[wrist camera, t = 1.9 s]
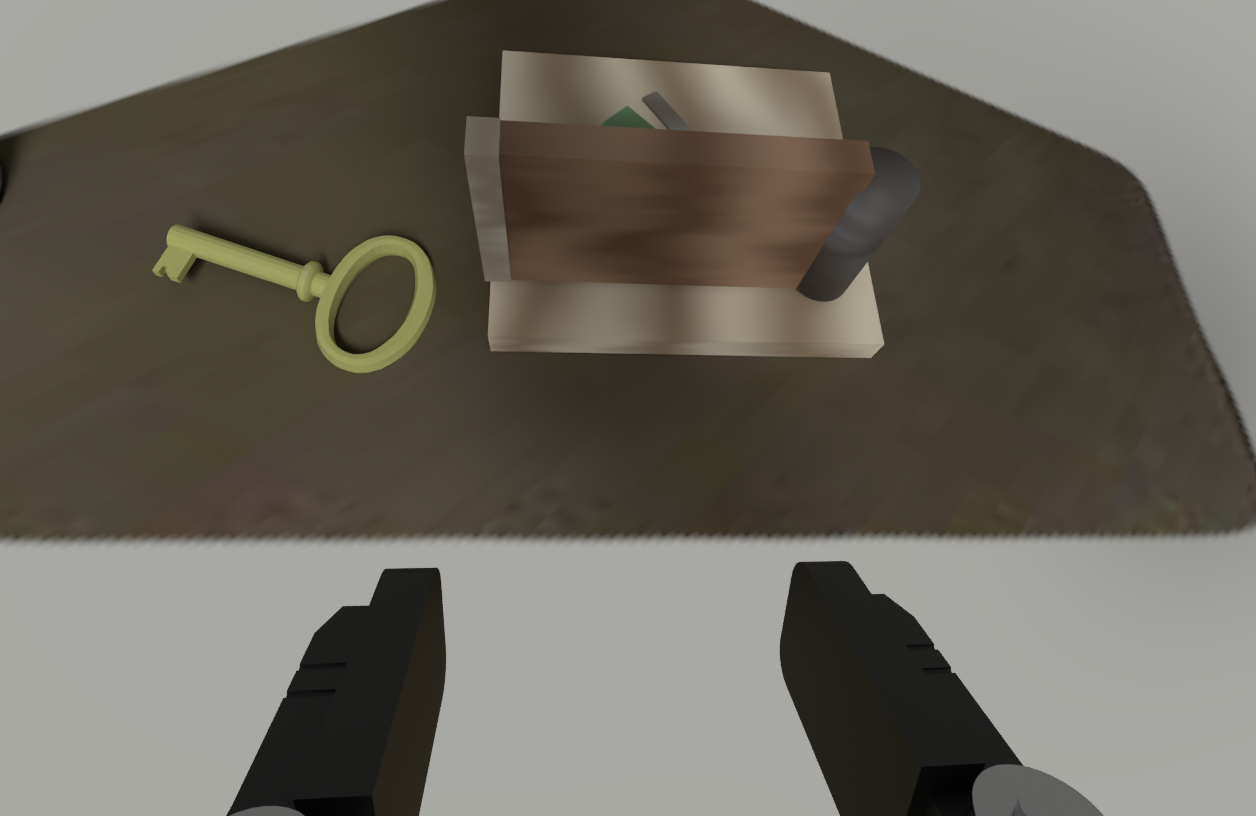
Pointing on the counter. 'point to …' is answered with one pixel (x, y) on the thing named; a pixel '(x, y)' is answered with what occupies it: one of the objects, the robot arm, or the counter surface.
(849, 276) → the brown wood panel
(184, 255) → the key
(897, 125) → the counter surface
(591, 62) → the beige flat square sheet
